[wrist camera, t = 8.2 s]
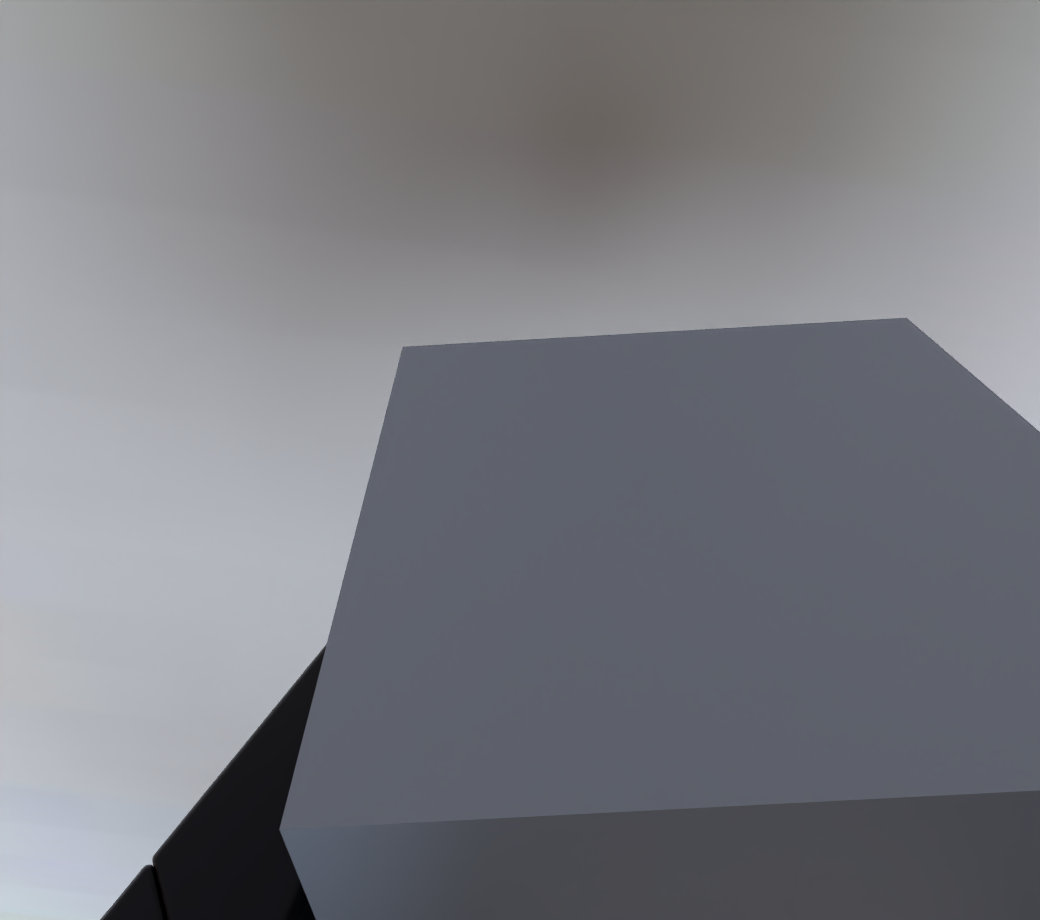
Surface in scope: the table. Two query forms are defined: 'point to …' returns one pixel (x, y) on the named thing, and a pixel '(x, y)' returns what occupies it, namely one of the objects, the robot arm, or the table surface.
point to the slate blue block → (684, 638)
